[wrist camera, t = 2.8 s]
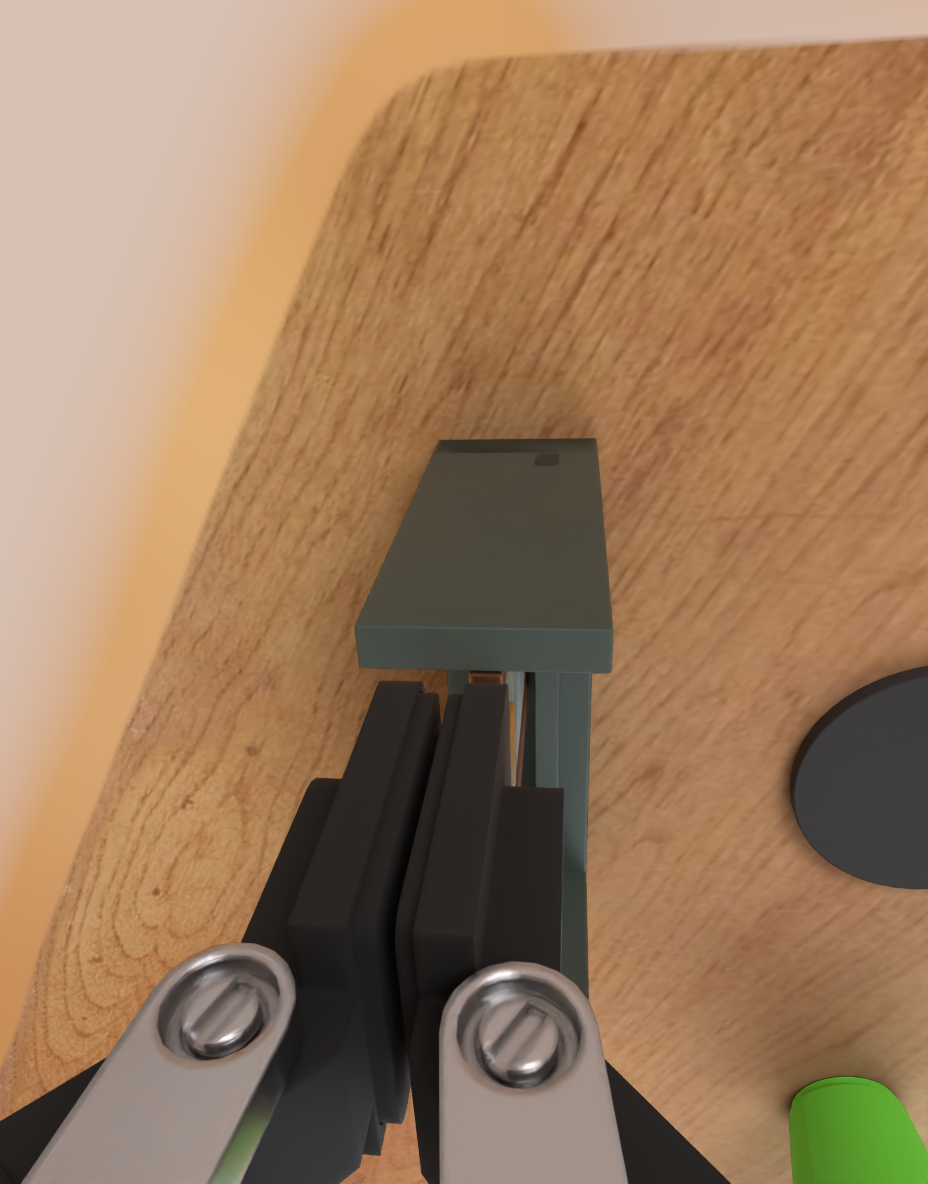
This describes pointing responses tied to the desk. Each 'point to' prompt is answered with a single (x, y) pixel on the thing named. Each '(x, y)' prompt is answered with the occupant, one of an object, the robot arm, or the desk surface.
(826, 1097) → the cup
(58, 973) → the desk surface
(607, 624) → the window frame
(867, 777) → the coaster
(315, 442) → the desk surface
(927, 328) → the desk surface
